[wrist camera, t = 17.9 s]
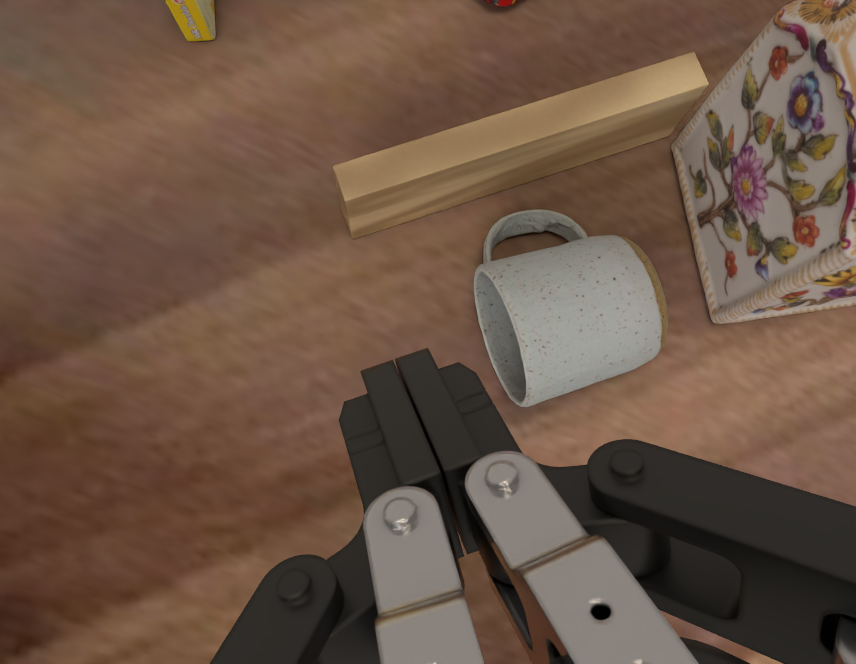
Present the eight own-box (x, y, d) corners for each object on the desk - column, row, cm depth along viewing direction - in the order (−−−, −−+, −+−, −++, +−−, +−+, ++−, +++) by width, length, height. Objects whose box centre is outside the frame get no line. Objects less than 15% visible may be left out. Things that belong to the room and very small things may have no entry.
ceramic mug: (646, 369, 42) (699, 341, 35) (510, 417, 41) (534, 399, 34) (576, 201, 44) (612, 140, 37) (446, 243, 43) (454, 190, 36)
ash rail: (669, 136, 45) (709, 84, 39) (352, 239, 43) (344, 201, 37) (656, 107, 45) (694, 51, 40) (341, 208, 43) (332, 165, 38)
